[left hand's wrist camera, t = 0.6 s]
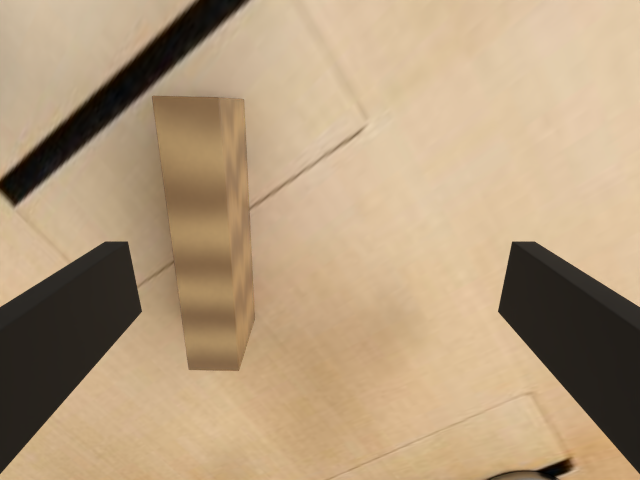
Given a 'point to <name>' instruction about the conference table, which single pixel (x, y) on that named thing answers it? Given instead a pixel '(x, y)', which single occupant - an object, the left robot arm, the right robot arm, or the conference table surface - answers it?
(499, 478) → the right robot arm
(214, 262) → the bar
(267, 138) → the conference table surface
